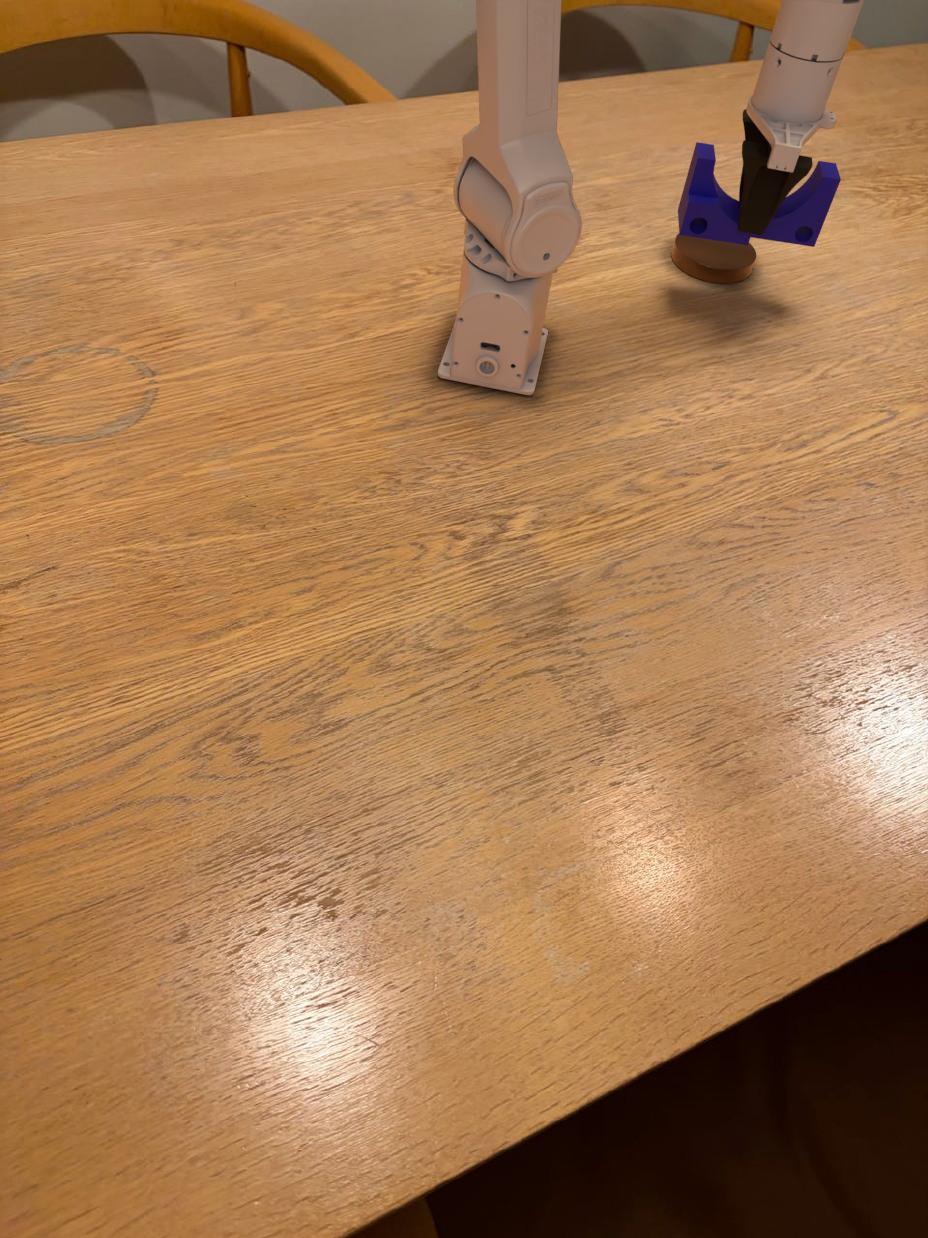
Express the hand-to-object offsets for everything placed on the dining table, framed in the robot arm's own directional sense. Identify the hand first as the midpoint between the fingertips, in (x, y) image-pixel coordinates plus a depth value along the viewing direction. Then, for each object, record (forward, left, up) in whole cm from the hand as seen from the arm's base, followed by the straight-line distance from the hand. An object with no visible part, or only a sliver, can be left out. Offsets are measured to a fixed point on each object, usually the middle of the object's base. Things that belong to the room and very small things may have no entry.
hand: (750, 216), depth 86 cm
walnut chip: (+7, +1, -8) cm, 11 cm away
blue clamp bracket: (0, 0, -2) cm, 2 cm away
